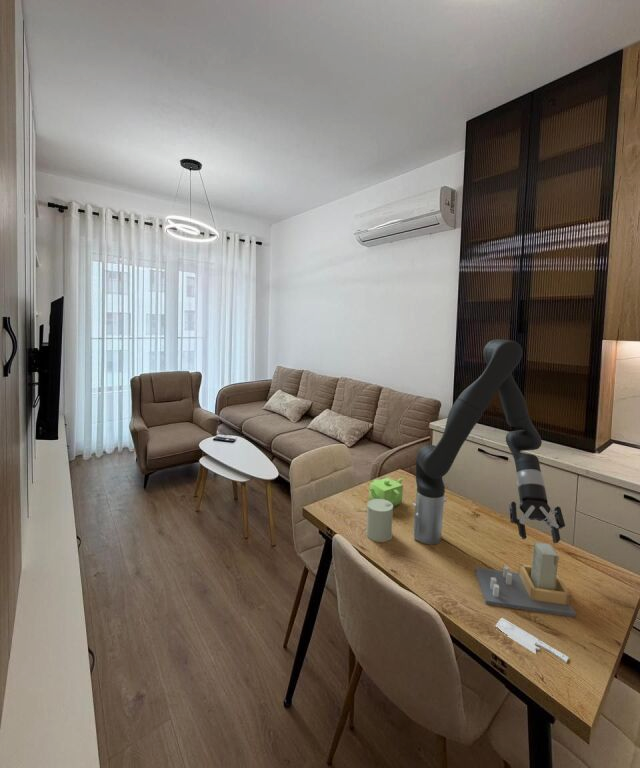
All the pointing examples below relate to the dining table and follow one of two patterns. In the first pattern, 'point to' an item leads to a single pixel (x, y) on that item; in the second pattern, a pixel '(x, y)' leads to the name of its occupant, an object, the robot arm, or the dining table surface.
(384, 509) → the can
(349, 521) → the dining table surface
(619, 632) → the dining table surface
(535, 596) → the board
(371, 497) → the teapot
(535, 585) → the skincare box
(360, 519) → the dining table surface
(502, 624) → the white plastic strip tool
